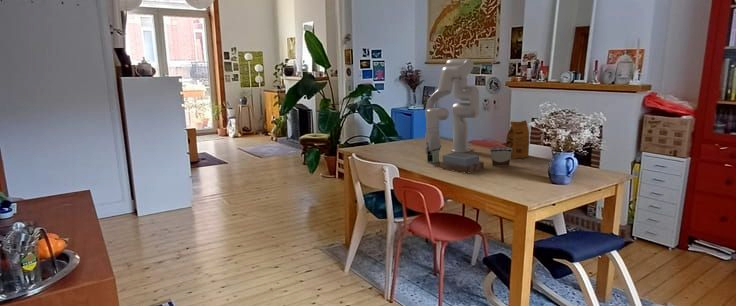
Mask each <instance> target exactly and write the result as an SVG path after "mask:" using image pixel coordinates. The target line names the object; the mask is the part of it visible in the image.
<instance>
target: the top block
mask: <svg viewBox="0 0 736 306" xmlns="http://www.w3.org/2000/svg"><path fill="white" fill-rule="evenodd" d="M479 161H480V155H477V154H471V153H467V152H465V153H460V152H451V153H446V154H443V155H442V162H443V163H449V164H454V165H460V166H465V167H467V166H470V165H473V164H477V163H479Z"/></svg>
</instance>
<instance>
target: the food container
mask: <svg viewBox="0 0 736 306" xmlns="http://www.w3.org/2000/svg"><path fill="white" fill-rule="evenodd" d="M511 152H513V151H512V148H509V147H506V146H492V147H491V148H490V151H489V153H490V154H491V155H490V156H491V166H492V167H510V165H511V159H512V158H511Z"/></svg>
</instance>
